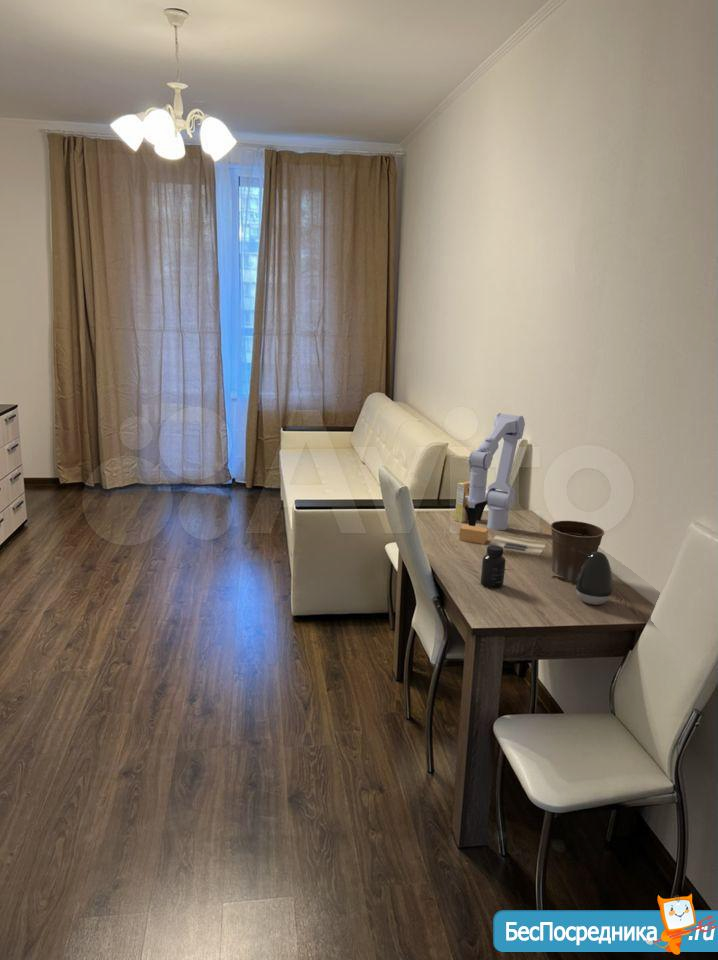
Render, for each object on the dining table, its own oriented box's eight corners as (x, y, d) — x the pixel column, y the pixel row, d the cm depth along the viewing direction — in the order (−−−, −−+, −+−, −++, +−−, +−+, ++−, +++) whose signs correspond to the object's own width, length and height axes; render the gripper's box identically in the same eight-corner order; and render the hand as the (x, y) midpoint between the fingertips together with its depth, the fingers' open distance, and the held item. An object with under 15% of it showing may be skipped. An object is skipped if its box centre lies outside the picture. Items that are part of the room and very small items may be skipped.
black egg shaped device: (577, 591, 221) (583, 543, 217) (613, 599, 216) (620, 550, 212) (569, 603, 212) (575, 553, 208) (606, 611, 207) (613, 560, 203)
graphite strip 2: (504, 546, 255) (504, 544, 255) (525, 549, 252) (525, 548, 252) (503, 547, 254) (504, 545, 253) (524, 550, 251) (524, 549, 251)
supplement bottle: (476, 582, 224) (479, 544, 222) (495, 580, 227) (498, 543, 224) (488, 590, 218) (491, 552, 215) (507, 588, 221) (511, 550, 218)
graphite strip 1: (506, 543, 258) (506, 542, 257) (526, 547, 255) (526, 545, 255) (505, 545, 256) (505, 543, 256) (525, 548, 254) (526, 546, 254)
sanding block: (462, 540, 264) (463, 524, 263) (486, 544, 261) (488, 528, 260) (458, 544, 260) (460, 528, 259) (483, 548, 257) (485, 532, 255)
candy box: (469, 517, 294) (472, 479, 290) (477, 519, 291) (480, 482, 287) (454, 520, 288) (457, 482, 285) (462, 523, 285) (465, 484, 282)
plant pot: (601, 589, 224) (607, 538, 220) (546, 583, 226) (552, 533, 223) (594, 570, 239) (600, 523, 236) (543, 565, 242) (549, 518, 238)
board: (496, 538, 268) (496, 534, 268) (546, 546, 262) (547, 542, 261) (486, 550, 254) (486, 546, 254) (539, 559, 247) (539, 555, 247)
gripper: (471, 479, 264) (468, 516, 267) (461, 488, 250) (458, 526, 254) (491, 482, 261) (487, 519, 264) (481, 491, 248) (478, 529, 251)
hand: (474, 522), depth 259 cm, fingers open, 7 cm apart
